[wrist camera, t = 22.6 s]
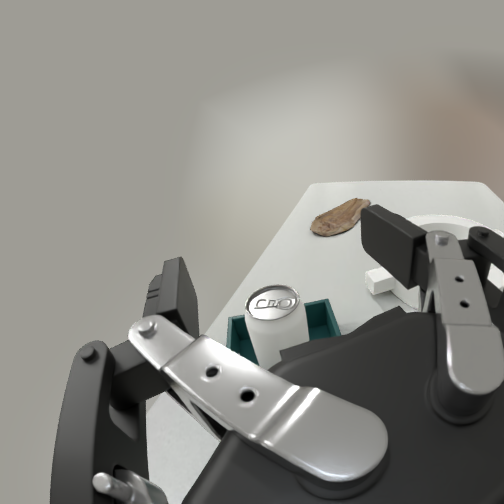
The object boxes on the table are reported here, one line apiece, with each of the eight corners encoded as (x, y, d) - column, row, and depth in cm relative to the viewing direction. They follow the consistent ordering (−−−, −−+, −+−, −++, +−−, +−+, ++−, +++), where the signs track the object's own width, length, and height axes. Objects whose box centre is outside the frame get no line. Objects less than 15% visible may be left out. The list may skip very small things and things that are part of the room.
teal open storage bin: (234, 422, 29) (222, 402, 26) (237, 341, 41) (228, 317, 39) (353, 402, 28) (356, 379, 25) (329, 324, 40) (328, 298, 38)
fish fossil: (343, 198, 83) (343, 194, 83) (373, 203, 77) (374, 199, 77) (303, 232, 67) (303, 228, 67) (342, 241, 61) (342, 236, 61)
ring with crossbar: (359, 297, 43) (359, 274, 41) (398, 226, 60) (398, 208, 58) (513, 332, 25) (523, 308, 23) (503, 244, 43) (506, 225, 40)
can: (309, 391, 30) (300, 322, 24) (258, 389, 32) (233, 322, 26) (314, 351, 35) (306, 280, 30) (268, 351, 37) (249, 283, 32)
